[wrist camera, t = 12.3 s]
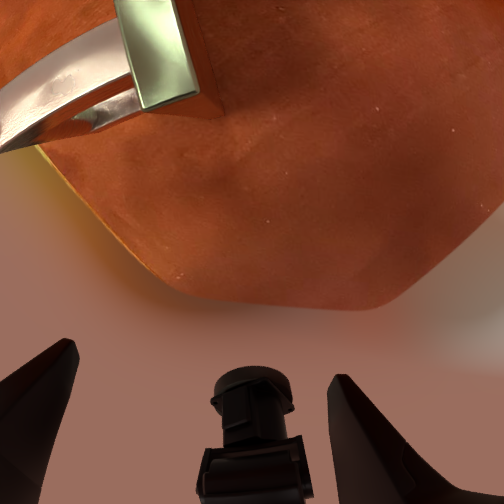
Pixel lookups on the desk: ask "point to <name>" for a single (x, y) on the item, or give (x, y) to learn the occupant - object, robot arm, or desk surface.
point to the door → (113, 77)
